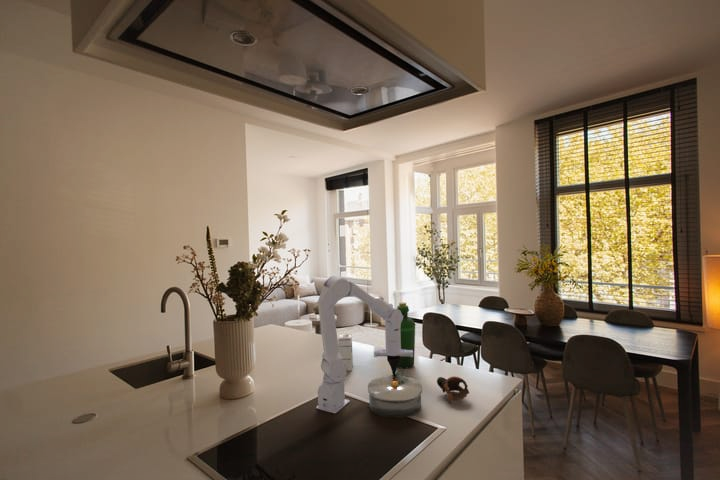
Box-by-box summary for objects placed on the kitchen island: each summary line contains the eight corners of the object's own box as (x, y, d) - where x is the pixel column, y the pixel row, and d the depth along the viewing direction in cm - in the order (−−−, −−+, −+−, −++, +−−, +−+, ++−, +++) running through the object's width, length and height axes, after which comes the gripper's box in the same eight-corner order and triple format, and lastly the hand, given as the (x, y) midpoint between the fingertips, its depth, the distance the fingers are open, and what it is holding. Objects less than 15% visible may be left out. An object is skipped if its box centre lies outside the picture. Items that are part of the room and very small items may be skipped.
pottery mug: (471, 395, 124) (473, 380, 120) (461, 416, 118) (463, 401, 114) (440, 380, 131) (441, 365, 127) (429, 399, 125) (430, 384, 121)
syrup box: (352, 370, 150) (351, 337, 150) (339, 370, 150) (338, 337, 150) (353, 365, 155) (352, 333, 155) (340, 366, 155) (339, 334, 155)
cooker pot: (412, 422, 106) (412, 406, 106) (361, 412, 114) (360, 397, 114) (430, 390, 128) (430, 377, 128) (386, 383, 135) (385, 371, 135)
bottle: (399, 359, 161) (398, 300, 161) (420, 364, 155) (418, 302, 155) (388, 367, 153) (386, 304, 152) (409, 372, 146) (407, 306, 146)
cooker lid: (419, 404, 107) (419, 395, 107) (362, 399, 111) (361, 390, 111) (424, 373, 130) (424, 366, 130) (377, 370, 135) (377, 363, 135)
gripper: (411, 336, 133) (412, 371, 133) (374, 336, 134) (375, 371, 134) (413, 341, 126) (414, 378, 126) (373, 341, 127) (374, 378, 127)
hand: (394, 375), depth 130 cm, fingers closed
